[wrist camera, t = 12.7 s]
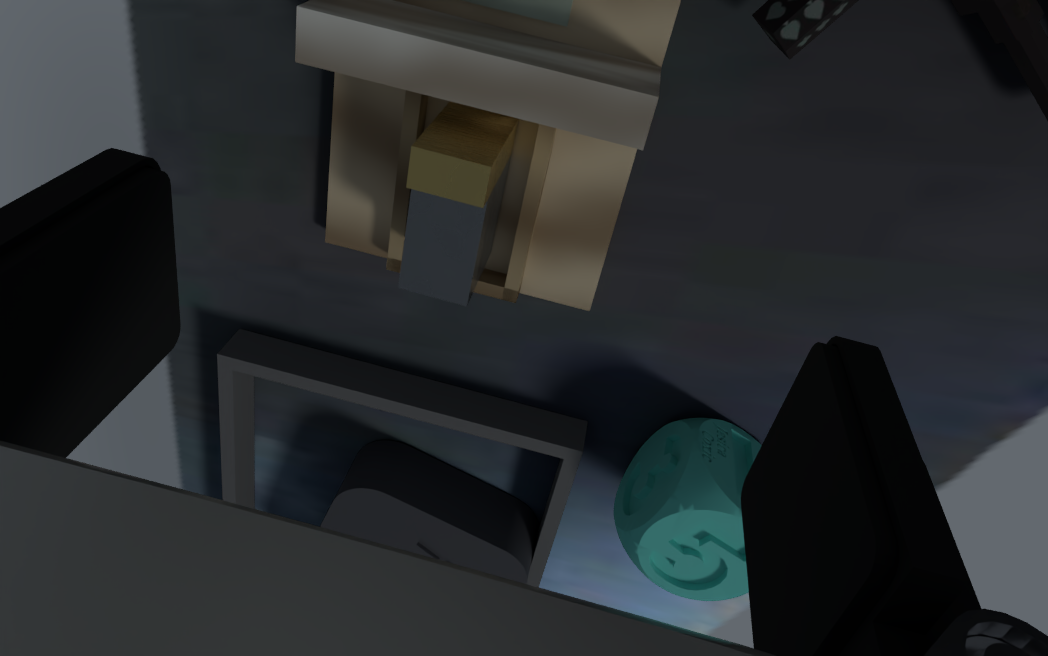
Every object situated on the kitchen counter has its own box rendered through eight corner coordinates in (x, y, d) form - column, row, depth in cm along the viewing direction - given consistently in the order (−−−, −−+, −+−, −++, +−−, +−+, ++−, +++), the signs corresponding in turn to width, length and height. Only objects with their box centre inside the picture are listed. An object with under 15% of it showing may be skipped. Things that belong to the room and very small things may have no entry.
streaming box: (472, 612, 64) (457, 668, 60) (313, 538, 62) (286, 590, 58) (552, 512, 56) (542, 568, 52) (373, 424, 54) (346, 474, 50)
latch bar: (491, 252, 44) (462, 316, 38) (430, 236, 44) (391, 298, 38) (519, 117, 39) (491, 167, 33) (451, 99, 39) (411, 145, 33)
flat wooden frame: (367, -321, 32) (306, -351, 26) (747, -231, 31) (760, -245, 26) (332, 233, 46) (289, 283, 41) (591, 300, 46) (580, 360, 40)
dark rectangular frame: (239, 328, 51) (217, 353, 49) (587, 421, 51) (582, 451, 48) (243, 558, 65) (225, 587, 62) (518, 634, 64) (512, 666, 61)
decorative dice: (790, 459, 49) (808, 556, 43) (707, 524, 54) (711, 621, 47) (693, 394, 48) (695, 484, 41) (616, 466, 52) (606, 558, 46)
